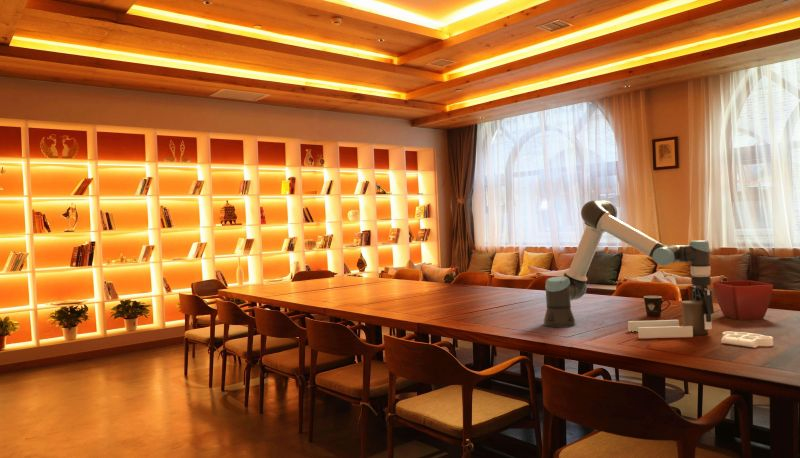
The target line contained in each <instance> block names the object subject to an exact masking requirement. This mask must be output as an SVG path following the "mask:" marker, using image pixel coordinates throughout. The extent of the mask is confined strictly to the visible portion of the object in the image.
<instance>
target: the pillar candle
mask: <svg viewBox="0 0 800 458" xmlns="http://www.w3.org/2000/svg"><path fill="white" fill-rule="evenodd" d="M681 309H682V310H681V311H682V312H681V314H682V326H693V336H702V335H703V336H705V335H708V334H709V329H704V314H703V313H705V312H704V305H703V303H702V301H695V300H694V301H692V300H682V301H681Z"/></svg>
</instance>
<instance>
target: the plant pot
mask: <svg viewBox="0 0 800 458" xmlns="http://www.w3.org/2000/svg"><path fill="white" fill-rule="evenodd" d="M712 285H713V291H714V294H715V297H716V300H717V303H718V306H719V308H720V311H721V312H722V315H723V316H725V317H727V318H730V319H731V318H732V319H734V320H736V321H740V320H741V321H742V320H762V319H764V318H765V317H766V315H767V311H768V309H769V305H770V303H771V299H772V296H773V295H772V294H773V289H774V284H771V283H765V282H761V281H755V280H725V281H713V282H712Z"/></svg>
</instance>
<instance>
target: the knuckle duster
mask: <svg viewBox="0 0 800 458" xmlns="http://www.w3.org/2000/svg"><path fill="white" fill-rule="evenodd" d="M720 340H721V341H720V342H721V343H723V344H725V345H733V346H740V347H747V348H751V349H752V348H758V347H773V346H774V337H773V336H770V335H763V334H759V333H751V332H743V331H741V332H740V331H739V332H738V331H731V330H730V331H729V330H728V331H723V332H722V338H721V339H720Z"/></svg>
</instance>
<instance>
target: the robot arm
mask: <svg viewBox="0 0 800 458" xmlns="http://www.w3.org/2000/svg"><path fill="white" fill-rule="evenodd" d="M580 215H581V218H582V220H583V222H584V223H583V224H584V227H585V229H584V231H583V234H582V236H581V239H580V241H579V243H578V245H577V249H576V252H575V254H574V257H573V259H572V262H571V263H570V267H569V268H568V269H567V270H565V271H564V273H563V276H558V275H557V276H552V277H549V278H547V279H546V280H545V286H544V287H545V301H546V311H545V314H544V318H543V325H544V326H546V327H548V328H549V327H550V328H569V327H574V326H576V319H575V316H574V313H573V311H572V306H571V305H572V302H571V301H575V300H579V299H580V298H582V297H583V296H584V295H585V294H586V293H587V289H588V285H587V282H588V277H587V273H588V271H589V268H590V267H591V263H592V260H593V258H594V256H595V253H596V251H597V248H598V246H599V243H600V241H601V239H602V236H603V234H604V233H608V234H609V235H612V236H613V237H615V238H616V239H618V240H619V241H622V242H624V243H625V244H627V245H628V246H630V247H632V248H634V249H635V250H638V252H641V253H643V254H645V255H646V256H648V257H650V258H651V259H653V261H654V262H655V263H656V264H657V265H660V266H667V265H668V266H669V265H670V264H675V263H686V262H687V263H690V275H691V279H690V280H691V285H693V286H691V301H694V300H695V301H702V303H703V305H704V312H705V313H703V314H704V329H708V330H713V327H712V326H713V324H712V314H714V313H715V312H714V311H715V310H714V304H713V303H714V302H713V296H712V293H713V292H712V290H711V289H708V286H710V285H711V284H712V280H711V279H712V277H711V270H712V268H711V258H710V257H711V256H710V255H711V250H710V244H709V241H708V240H704V239H703V240H690V241H689V244H686V245H684V244H683V245H681V244H680V245H677V244H675V245H672V244H669V245H667V244H666V245H665V244H664V243H661V242H660V241H658V240H656V239H654V238H652V237H651V236H649V235H647V234H645V233H644V232H641V231H640V230H639V229H636V228H634V227H633V226H631V225H629V224H627V223H625V222H623V221H622V220H620V219H618V218H617V216H618V209H617V208H616V205H615V204H614V203H613V202H611V201H609V200H608V201H607V200H604V199H603V200H590V201H588V202H586V203H584V205H583V206H582V207H581V211H580Z"/></svg>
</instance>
